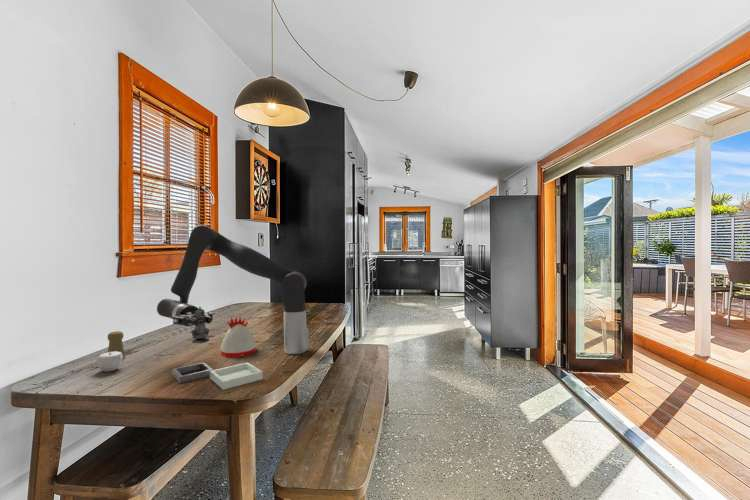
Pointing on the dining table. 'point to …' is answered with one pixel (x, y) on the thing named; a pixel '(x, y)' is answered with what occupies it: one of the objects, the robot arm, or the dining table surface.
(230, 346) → the kitchen timer
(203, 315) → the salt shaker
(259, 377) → the tray
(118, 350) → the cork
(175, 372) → the holder
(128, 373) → the dining table surface
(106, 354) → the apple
